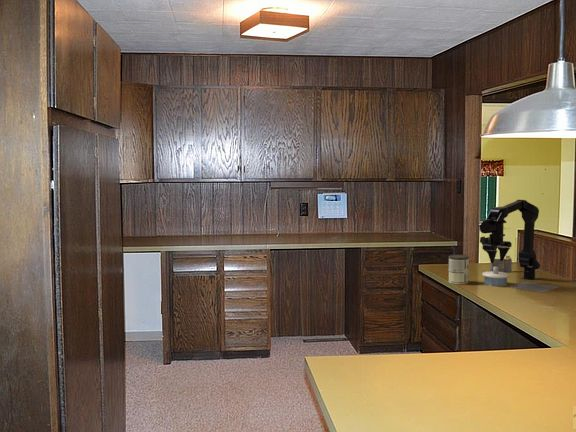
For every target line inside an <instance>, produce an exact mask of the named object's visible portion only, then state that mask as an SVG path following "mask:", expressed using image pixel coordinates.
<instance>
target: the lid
mask: <svg viewBox="0 0 576 432" xmlns="http://www.w3.org/2000/svg"><path fill="white" fill-rule="evenodd" d="M482 276H483V277H484V278H485V277H490V278H507V279H508V278H510V273H509V272H498V267H493V271H483V272H482Z"/></svg>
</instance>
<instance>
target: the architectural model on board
mask: <svg viewBox="0 0 576 432" xmlns="http://www.w3.org/2000/svg"><path fill="white" fill-rule="evenodd" d="M512 261H513V259H512V257H511V255H506V256H505V258H504V259H503V261H500V258H495V260H494V263H491V262H490V266H489V267H490V271H493V267H498V272H505V273H512V269H513V262H512Z"/></svg>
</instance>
